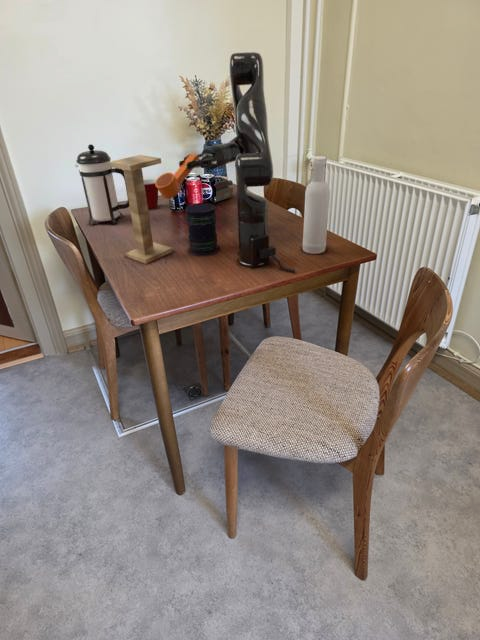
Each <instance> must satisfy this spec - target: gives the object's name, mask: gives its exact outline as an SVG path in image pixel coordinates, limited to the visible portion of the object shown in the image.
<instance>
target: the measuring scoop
mask: <svg viewBox="0 0 480 640" xmlns="http://www.w3.org/2000/svg"><path fill="white" fill-rule="evenodd" d="M189 155H190V156H189V157H188V158H187V159H186V160H185V162H184V163H183V164H182V165H181V167H179V168H178V169H177V170H176V172H175V173H172V172H165V173H163V174H161V175H160V176H158V177H157V178H156V179H155V180H156V182H155V185H156V187H157V189H158V193H160V195H161V196H162V197H163V199H166V200H169V199H173V198H174V197H176V196H177V195H178V194H179V193H180V192H181V190H182V189H181V188H182V186H181V184H182V183H183V182H184V181H185V179H186V178H187V177H188V176H189V175H190V173H191V172H192V171H193V169H194V168H192V169H187V162H191V161H195V160H197V159H199V158H198V156H197V154H193V153H189ZM195 162H196V161H195Z"/></svg>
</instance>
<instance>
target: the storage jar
mask: <svg viewBox="0 0 480 640" xmlns="http://www.w3.org/2000/svg"><path fill="white" fill-rule="evenodd" d="M185 219H186V225H187V228H188V237H187V239H188V246H189V252H190V253H191V254H192V255H194V256H210V255H213V254H215V253H216V252H217V251H218V234H217V231H216V230H217V229H216V224H217V216H216V206H215V205H214V204H213V203H209V202H199V203H198V202H197V203H192V204H189V205H187V206H186V207H185Z"/></svg>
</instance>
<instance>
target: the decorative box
mask: <svg viewBox="0 0 480 640" xmlns="http://www.w3.org/2000/svg"><path fill="white" fill-rule="evenodd" d="M214 176H215V178H216V179H217V178H220V179H221V181H220V182H219V180H218V179H217V182H215V184H214V186H215V187H216V201H215V202H213V201H212V202H211V203H213V204H215V203H217V202H221V201H223V200H226V199H229V198H232V195H233V192H234V187H232V186H233V183H234V182H233V180H230V179H229V178H228V177H227V176H225V175H224V176H223V175H214ZM204 195H207V193H206V191H205V193H204Z"/></svg>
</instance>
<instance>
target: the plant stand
mask: <svg viewBox="0 0 480 640" xmlns="http://www.w3.org/2000/svg"><path fill="white" fill-rule="evenodd" d="M160 164H162V158H161V157H156V156H150V155H149V156H148V155H143V154H137V155H133V156H129V157H124V158H119V159H116V160H110V162H109V165H110V167H112V169H113V168H118V169H122V170H123V171H124V177H125V180H124V184H125V183H126V185H125V189H126V188H127V191H126V195H127V194H128V197H127V201H128V200H129V211H130V217H131V221H132V227H133V234H134V239H135V245H136V248H135V249H132V250H130V251H126V252H125V255H126V258H129V259H132V260H135V261H137V262H140V263H143V264H144V265H145V264H146V265H147V264H149V263H151V262H154V261H155V260H158V259H160V258H162V257H164V256H165V257H166V256H167V255H169V254H171V253H173V248H172V247H170V246H167V245H164V244H161V243H158V242H154V241H153V234H152V228H151V227H152V226H151V221H150V214H149V209H148V206H147V200H146V193H145V187H144V180H145V179H144V174H143V173H144V172H143V169H144V168H149V167H153V166H156V165H160ZM124 177H123V178H124Z"/></svg>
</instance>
